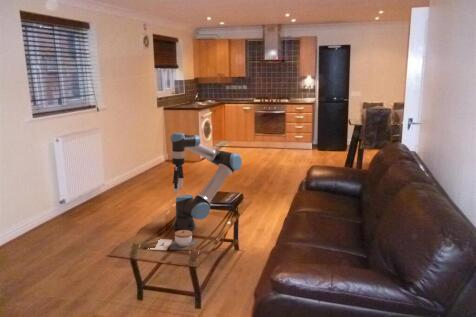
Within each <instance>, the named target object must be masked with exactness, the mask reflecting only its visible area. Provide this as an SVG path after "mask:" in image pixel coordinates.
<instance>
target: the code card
mask: <svg viewBox="0 0 476 317" xmlns="http://www.w3.org/2000/svg"><path fill="white" fill-rule="evenodd" d="M159 239H160V240H158V243H157V245H156V247H155V248H150V249H149V248H148V249H147V250H151V251H152V250H153V251H155V250H156V251H167V250H168V248H170V246H171V245H172V243H173V239H168V238H167V239H165V238H164V239H163V238H159Z"/></svg>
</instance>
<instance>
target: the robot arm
mask: <svg viewBox="0 0 476 317" xmlns="http://www.w3.org/2000/svg"><path fill="white" fill-rule="evenodd" d="M170 142H171V144H172V147H171V148H172V150H171V151H172V152H171V155H172V156H171V157H172V161H171V163H172V165H175V166H174V167H173V180H172V184H173V194H175V195H176V194H177V195H178V196H176V197H175V219H174V222H173V229H174V231H179V230H189V231H191V232H192V231H193V230H195V229H196V223H195V220H200V221H201V220H205V219H206V218H207V217H208V216H209V215H210V211H211V201H212V200H213V199H214V198H215V196H216V194H217V192H219V190H220V188H222V186H223V184H224V182H225V181H226V179H227V178H228V177H229V176H230V175H233V174H234V172H235V171H239V170H240V169H241V167H242V166H243V159H242V157H241V155H240V154H238V153H236V152H229V151H225V150H224V151H223V150H220V149H219V150H218V149H215V148H211V147H208V146H206V145H205V144H202V143H201V137H200V136H199V135H198V134H186V133H183V132H173V133H172V134H171V136H170ZM185 149H186V150H189V151H190V152H192V153H195V154H196V155H199V156H201V157H202V158H205V159H206V160H207V161H209V162H210V163H212V164H214V165H216V166H217V170H216V171H215V173H214V174H213V175H212V177H211V178H210V179H209V181H208V183H207V184H206V185H205V187H204V188H203V190H202V191H201V192H200V194H196V196H195V197H194V196H193V195H192V194H182V195H179V189H184V186H183V185H184V183H183V181H184V178H185V176H184V169H183V165H184V164H185Z"/></svg>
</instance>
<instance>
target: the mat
mask: <svg viewBox="0 0 476 317" xmlns="http://www.w3.org/2000/svg"><path fill="white" fill-rule="evenodd" d="M173 240H174V241H172V243H171V244H170V246H169V250H174V251H175V250H176V251H185V250H184V249H185V248H187V247H188V246H190V245H193V244H195V243H196V244H197V241H196V240H191V242H190V244H188V246H185V247H181V246H179V245H178V244H177V243H176V241H175V239H173ZM196 244H195V245H196Z"/></svg>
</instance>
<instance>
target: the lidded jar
mask: <svg viewBox="0 0 476 317" xmlns="http://www.w3.org/2000/svg"><path fill="white" fill-rule="evenodd" d="M192 239H193V232H192V230H191V231H189V230H179V231H177V230H175V231H174V240H175V241H176V243H177V244H178V245H179V246H181V247H185V246H188V244H190V242H191V241H193V240H192Z"/></svg>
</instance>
